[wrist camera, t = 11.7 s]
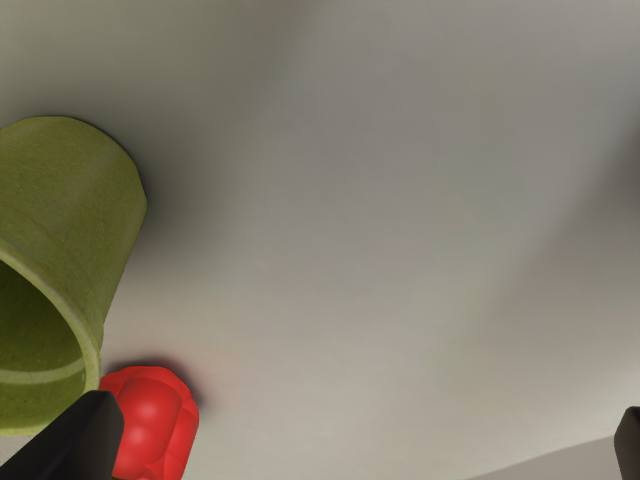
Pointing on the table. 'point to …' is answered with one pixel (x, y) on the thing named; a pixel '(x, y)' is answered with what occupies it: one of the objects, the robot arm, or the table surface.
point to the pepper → (152, 423)
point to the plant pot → (59, 261)
